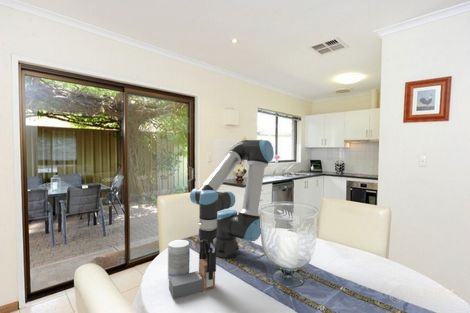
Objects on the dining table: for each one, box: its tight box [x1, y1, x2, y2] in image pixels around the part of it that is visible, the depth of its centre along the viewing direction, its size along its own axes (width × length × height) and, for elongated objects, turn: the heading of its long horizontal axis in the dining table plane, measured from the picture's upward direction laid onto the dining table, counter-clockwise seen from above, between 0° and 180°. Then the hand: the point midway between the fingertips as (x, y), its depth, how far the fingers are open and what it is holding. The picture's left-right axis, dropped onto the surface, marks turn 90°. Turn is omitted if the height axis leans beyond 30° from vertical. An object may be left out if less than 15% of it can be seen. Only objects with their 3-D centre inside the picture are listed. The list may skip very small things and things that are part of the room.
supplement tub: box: [167, 239, 191, 278], centre depth 107 cm, size 10×10×15 cm
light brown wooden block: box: [198, 258, 216, 291], centre depth 100 cm, size 5×6×10 cm
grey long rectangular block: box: [168, 270, 204, 300], centre depth 96 cm, size 12×7×5 cm, turn 118°
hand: (206, 281), depth 100 cm, fingers closed on light brown wooden block, 6 cm apart
